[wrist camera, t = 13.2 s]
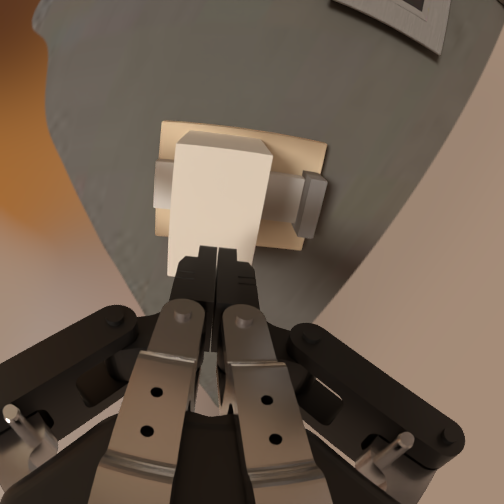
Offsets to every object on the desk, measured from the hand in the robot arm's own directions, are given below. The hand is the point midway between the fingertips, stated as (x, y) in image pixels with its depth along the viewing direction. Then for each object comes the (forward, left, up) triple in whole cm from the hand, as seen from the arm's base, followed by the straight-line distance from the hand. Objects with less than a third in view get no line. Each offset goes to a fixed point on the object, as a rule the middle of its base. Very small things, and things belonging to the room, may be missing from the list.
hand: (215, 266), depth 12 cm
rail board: (0, +1, -12) cm, 12 cm away
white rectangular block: (0, 0, -11) cm, 11 cm away
